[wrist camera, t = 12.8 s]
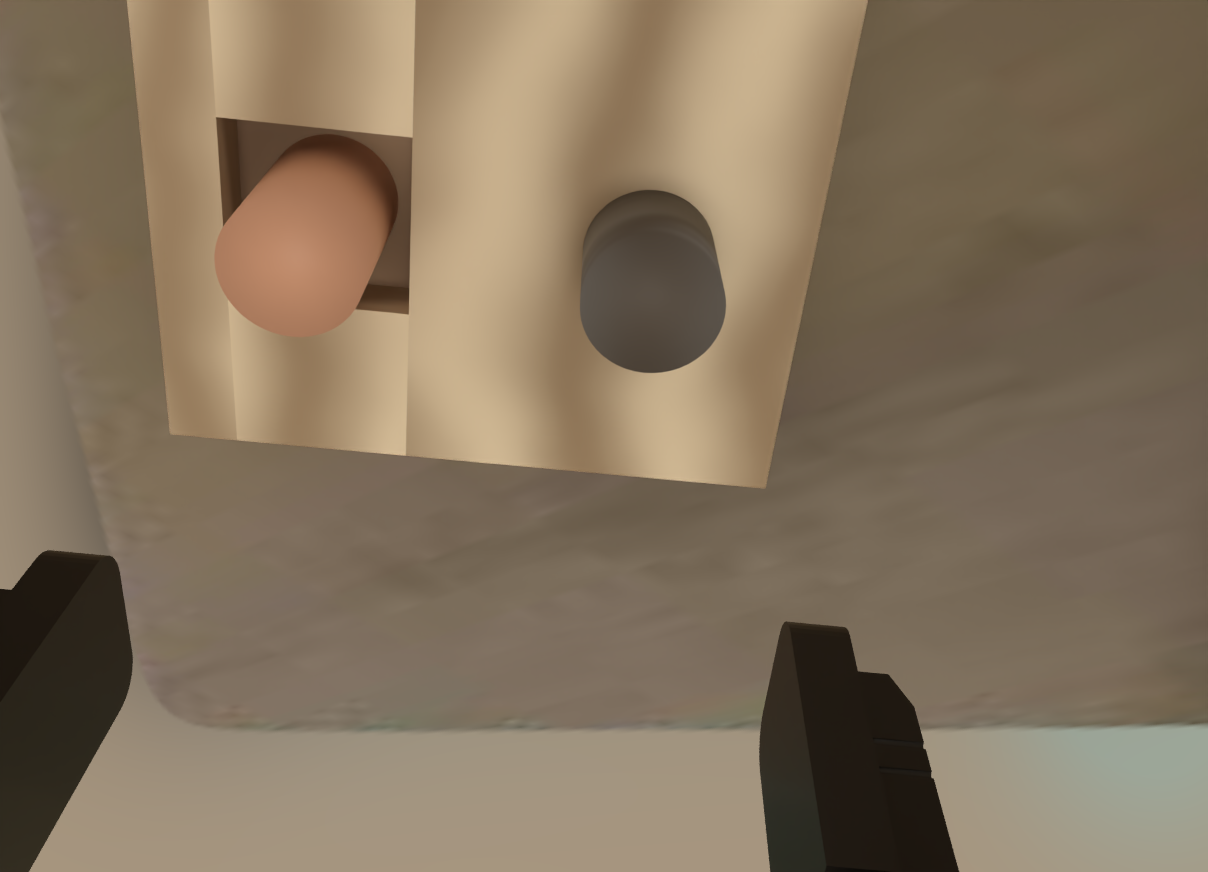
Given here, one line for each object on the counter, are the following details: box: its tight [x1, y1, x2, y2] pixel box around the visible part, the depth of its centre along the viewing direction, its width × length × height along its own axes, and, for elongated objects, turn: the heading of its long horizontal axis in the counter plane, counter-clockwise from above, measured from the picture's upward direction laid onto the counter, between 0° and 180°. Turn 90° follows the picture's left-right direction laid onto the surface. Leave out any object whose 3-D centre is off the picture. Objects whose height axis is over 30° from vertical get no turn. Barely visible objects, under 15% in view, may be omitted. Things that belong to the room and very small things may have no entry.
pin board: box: [127, 0, 868, 488], centre depth 34 cm, size 20×16×7 cm
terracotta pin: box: [214, 134, 398, 337], centre depth 34 cm, size 4×4×6 cm
